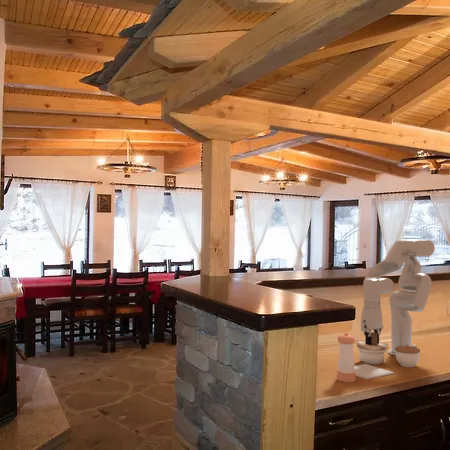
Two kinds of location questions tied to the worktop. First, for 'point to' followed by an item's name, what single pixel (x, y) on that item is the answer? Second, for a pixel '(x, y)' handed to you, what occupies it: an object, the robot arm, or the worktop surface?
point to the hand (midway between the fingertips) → (372, 343)
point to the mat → (370, 371)
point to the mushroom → (372, 356)
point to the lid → (373, 344)
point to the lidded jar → (407, 355)
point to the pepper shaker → (346, 358)
